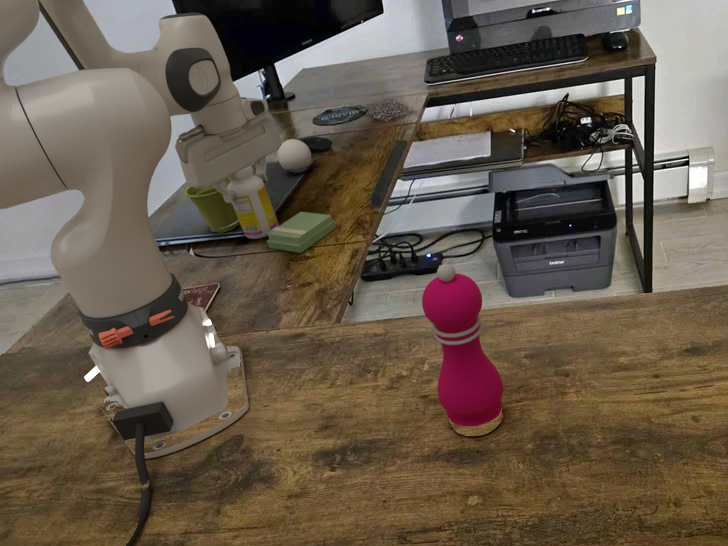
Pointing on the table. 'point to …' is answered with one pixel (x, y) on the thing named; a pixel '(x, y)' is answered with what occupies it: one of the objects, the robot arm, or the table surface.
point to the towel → (300, 232)
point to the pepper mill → (462, 349)
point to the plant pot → (214, 207)
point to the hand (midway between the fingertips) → (247, 192)
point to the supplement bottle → (252, 204)
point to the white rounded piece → (294, 155)
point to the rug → (384, 109)
